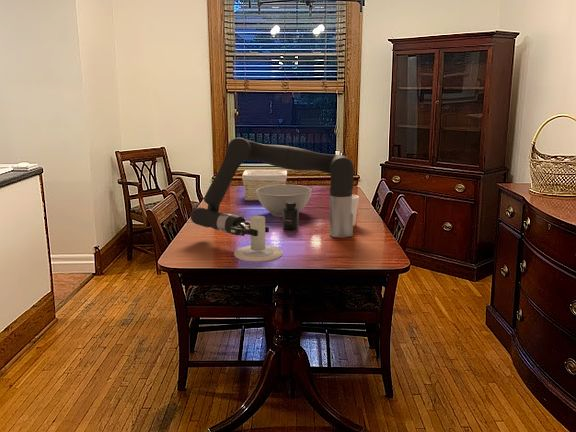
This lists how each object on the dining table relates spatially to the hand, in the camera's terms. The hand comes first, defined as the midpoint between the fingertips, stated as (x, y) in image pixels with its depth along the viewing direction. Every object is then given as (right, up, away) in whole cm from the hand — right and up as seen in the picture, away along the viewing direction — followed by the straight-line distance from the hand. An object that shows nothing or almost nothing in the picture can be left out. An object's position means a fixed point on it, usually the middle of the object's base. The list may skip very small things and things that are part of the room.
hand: (262, 231), depth 204 cm
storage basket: (-3, +15, +100) cm, 101 cm away
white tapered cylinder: (-2, -6, +3) cm, 8 cm away
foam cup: (+36, +2, +44) cm, 57 cm away
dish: (-2, -9, +4) cm, 10 cm away
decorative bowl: (+7, +6, +64) cm, 65 cm away
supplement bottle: (+11, 0, +38) cm, 39 cm away
